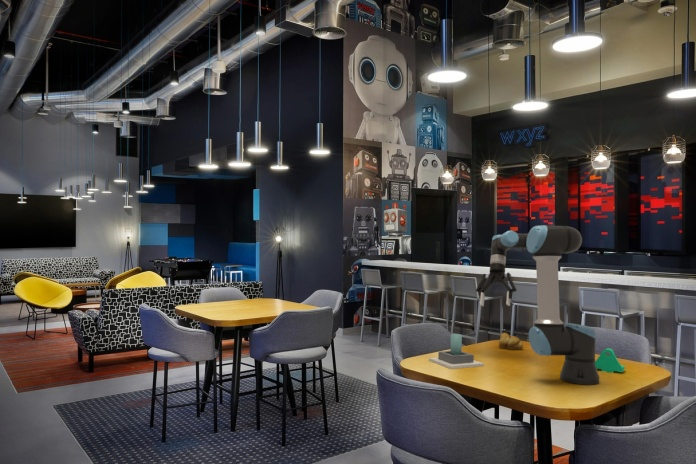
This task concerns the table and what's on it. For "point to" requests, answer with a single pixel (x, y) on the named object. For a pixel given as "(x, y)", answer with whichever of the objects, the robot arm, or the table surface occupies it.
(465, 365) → the dock
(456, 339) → the peg
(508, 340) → the bread roll
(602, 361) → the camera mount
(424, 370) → the table surface
